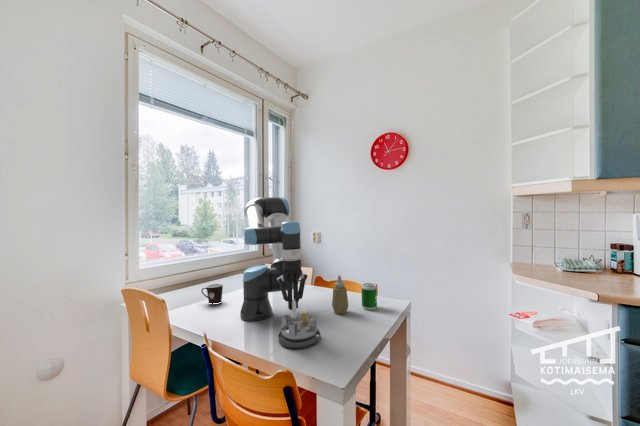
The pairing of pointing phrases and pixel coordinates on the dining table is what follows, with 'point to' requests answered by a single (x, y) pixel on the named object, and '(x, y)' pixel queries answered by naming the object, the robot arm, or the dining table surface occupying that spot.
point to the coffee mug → (214, 293)
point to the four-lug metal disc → (299, 328)
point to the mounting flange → (300, 344)
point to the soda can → (369, 296)
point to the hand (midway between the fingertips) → (293, 316)
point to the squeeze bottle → (339, 297)
